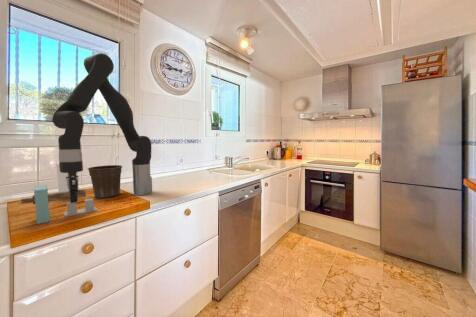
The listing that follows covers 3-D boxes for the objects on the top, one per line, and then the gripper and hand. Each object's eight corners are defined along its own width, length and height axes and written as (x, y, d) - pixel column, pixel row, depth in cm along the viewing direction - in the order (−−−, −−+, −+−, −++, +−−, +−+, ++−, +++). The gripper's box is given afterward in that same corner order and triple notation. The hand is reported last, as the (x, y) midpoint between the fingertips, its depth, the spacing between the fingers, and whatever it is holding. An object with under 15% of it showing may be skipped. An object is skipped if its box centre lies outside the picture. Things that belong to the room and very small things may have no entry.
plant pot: (85, 200, 105) (83, 169, 104) (93, 193, 120) (92, 165, 119) (121, 197, 111) (120, 168, 110) (125, 190, 126) (124, 164, 125)
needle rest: (95, 208, 94) (94, 197, 94) (97, 210, 91) (96, 199, 90) (64, 214, 87) (63, 202, 86) (64, 216, 83) (63, 204, 83)
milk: (69, 199, 108) (65, 157, 105) (58, 199, 108) (55, 157, 106) (79, 196, 114) (76, 156, 111) (69, 196, 114) (66, 156, 112)
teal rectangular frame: (49, 215, 85) (47, 185, 84) (49, 221, 79) (47, 189, 78) (37, 217, 83) (35, 186, 82) (37, 224, 76) (34, 190, 75)
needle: (84, 195, 90) (84, 188, 90) (85, 196, 88) (85, 189, 88) (22, 204, 77) (21, 196, 77) (21, 206, 75) (20, 198, 75)
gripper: (84, 161, 83) (87, 203, 84) (80, 158, 93) (82, 196, 94) (59, 162, 77) (63, 207, 79) (58, 159, 88) (61, 199, 89)
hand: (73, 201), depth 87 cm, fingers closed on needle, 2 cm apart
